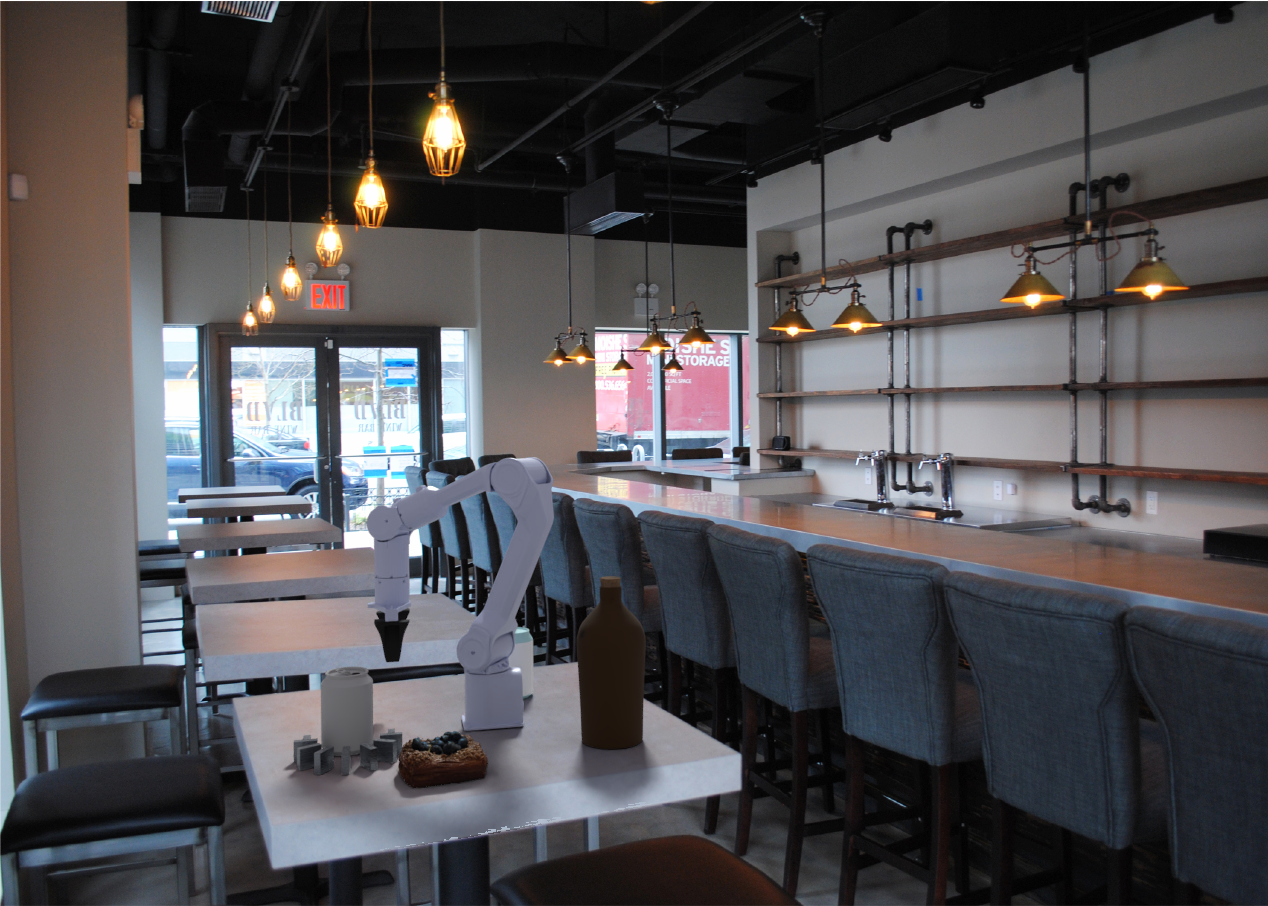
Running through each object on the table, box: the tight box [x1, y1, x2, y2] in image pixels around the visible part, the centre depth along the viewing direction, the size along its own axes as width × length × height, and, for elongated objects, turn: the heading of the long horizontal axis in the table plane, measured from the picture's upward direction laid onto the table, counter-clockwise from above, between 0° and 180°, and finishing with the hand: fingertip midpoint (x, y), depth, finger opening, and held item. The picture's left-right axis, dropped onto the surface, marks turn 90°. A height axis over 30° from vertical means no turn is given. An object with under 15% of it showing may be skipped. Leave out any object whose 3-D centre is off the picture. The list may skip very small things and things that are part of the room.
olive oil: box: [576, 575, 647, 750], centre depth 147 cm, size 11×11×25 cm
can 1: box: [320, 666, 374, 757], centre depth 144 cm, size 8×8×12 cm
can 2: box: [509, 626, 535, 700], centre depth 173 cm, size 7×7×12 cm
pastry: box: [397, 730, 489, 789], centre depth 133 cm, size 11×12×6 cm
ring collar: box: [293, 728, 403, 776], centre depth 138 cm, size 15×10×3 cm
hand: (393, 656), depth 162 cm, fingers open, 7 cm apart
